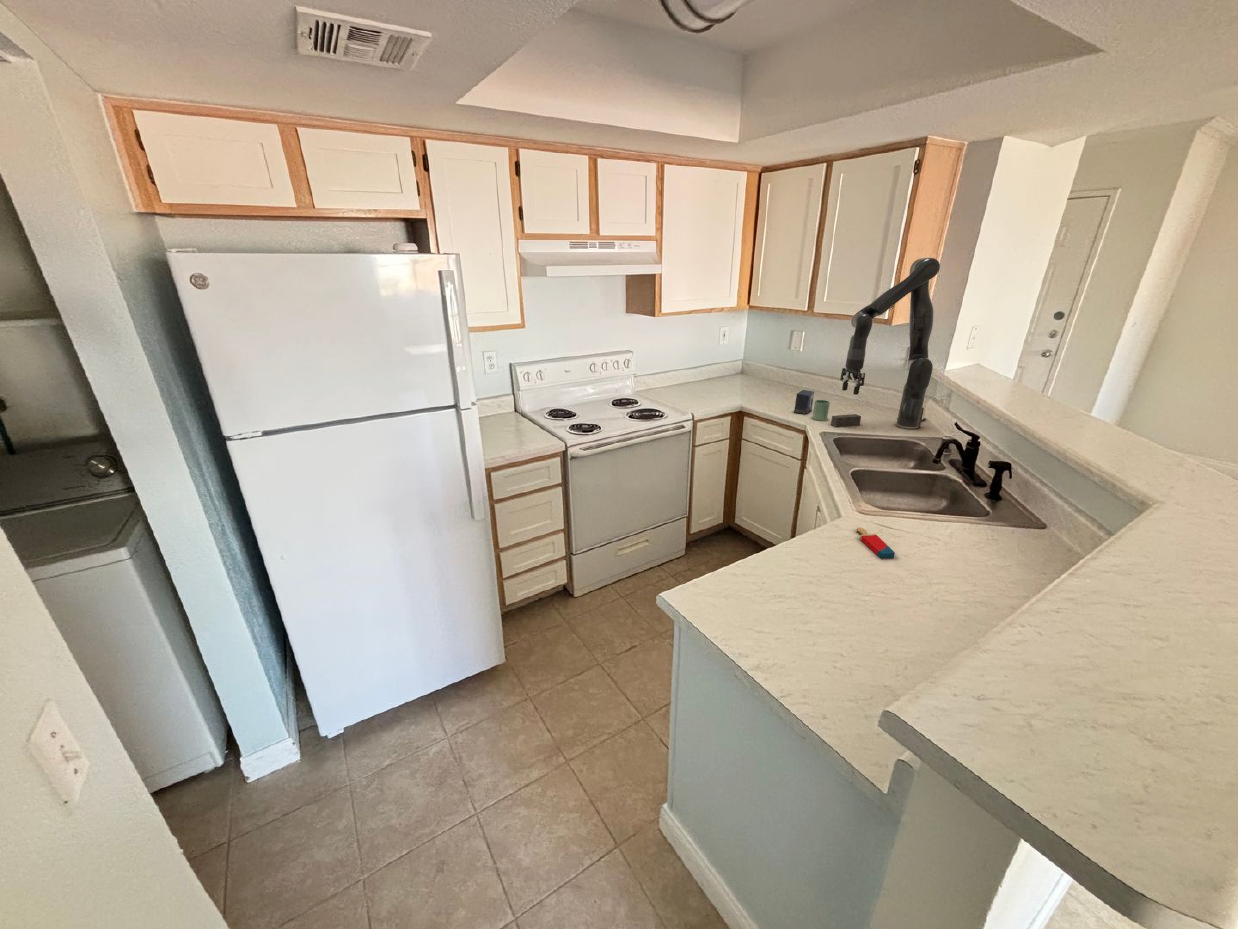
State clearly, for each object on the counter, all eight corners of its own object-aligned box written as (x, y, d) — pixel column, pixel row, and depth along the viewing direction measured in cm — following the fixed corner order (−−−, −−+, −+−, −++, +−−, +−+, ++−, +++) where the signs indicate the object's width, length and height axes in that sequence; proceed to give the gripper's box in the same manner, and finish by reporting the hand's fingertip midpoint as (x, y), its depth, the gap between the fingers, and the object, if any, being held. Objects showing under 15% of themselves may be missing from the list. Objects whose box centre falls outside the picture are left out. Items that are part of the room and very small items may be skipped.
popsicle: (866, 525, 147) (896, 552, 134) (865, 529, 148) (895, 557, 134) (851, 526, 147) (880, 553, 133) (851, 530, 148) (879, 558, 134)
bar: (854, 422, 246) (855, 413, 245) (859, 425, 243) (861, 416, 241) (830, 424, 244) (832, 415, 242) (835, 427, 240) (837, 418, 239)
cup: (822, 416, 257) (824, 399, 253) (829, 420, 251) (832, 402, 247) (810, 417, 256) (812, 400, 252) (817, 421, 249) (820, 403, 246)
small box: (805, 414, 260) (808, 395, 256) (793, 412, 264) (795, 393, 260) (812, 410, 268) (815, 391, 264) (800, 408, 271) (802, 389, 267)
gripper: (873, 360, 226) (866, 395, 232) (853, 355, 239) (847, 388, 245) (858, 360, 224) (852, 396, 230) (839, 355, 237) (834, 389, 243)
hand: (850, 392), depth 238 cm, fingers open, 8 cm apart
